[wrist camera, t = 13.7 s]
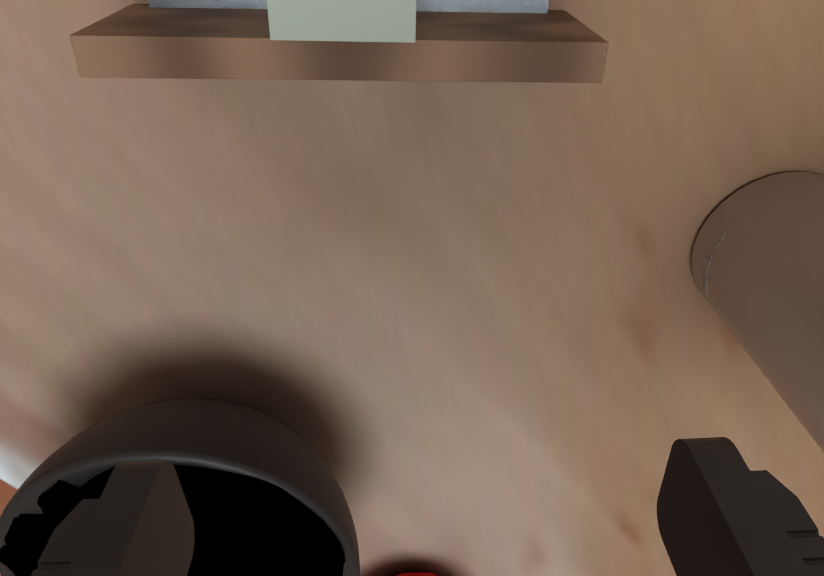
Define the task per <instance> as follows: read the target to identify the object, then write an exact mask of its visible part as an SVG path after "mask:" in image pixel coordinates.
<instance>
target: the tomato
mask: <svg viewBox="0 0 824 576" xmlns="http://www.w3.org/2000/svg"><path fill="white" fill-rule="evenodd" d="M396 576H436V575H434V574H433V573H402V574H399V575H396Z"/></svg>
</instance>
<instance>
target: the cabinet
mask: <svg viewBox="0 0 824 576" xmlns="http://www.w3.org/2000/svg"><path fill="white" fill-rule="evenodd" d="M267 8H268V19H269V30H270V40H293V41H349V42H405V43H415V36H416V0H267Z"/></svg>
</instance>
